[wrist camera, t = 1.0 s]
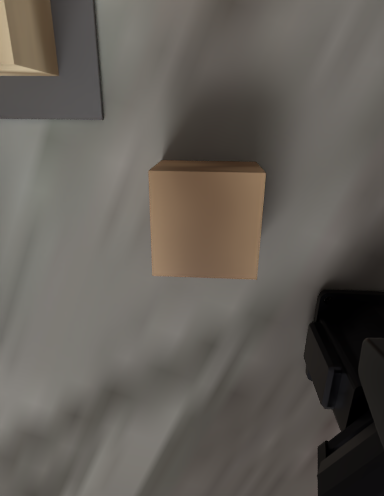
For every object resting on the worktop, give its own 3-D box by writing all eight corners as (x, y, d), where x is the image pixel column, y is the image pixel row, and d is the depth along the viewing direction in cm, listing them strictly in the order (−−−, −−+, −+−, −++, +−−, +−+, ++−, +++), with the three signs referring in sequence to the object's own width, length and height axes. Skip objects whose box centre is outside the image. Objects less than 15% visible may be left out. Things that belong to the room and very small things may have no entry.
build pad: (85, -109, 14) (83, -112, 14) (103, 119, 18) (102, 119, 17) (-117, -103, 15) (-122, -107, 15) (-63, 117, 18) (-66, 117, 18)
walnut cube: (255, 161, 18) (266, 172, 14) (248, 249, 20) (256, 279, 16) (162, 159, 18) (148, 170, 15) (164, 246, 20) (152, 275, 16)
